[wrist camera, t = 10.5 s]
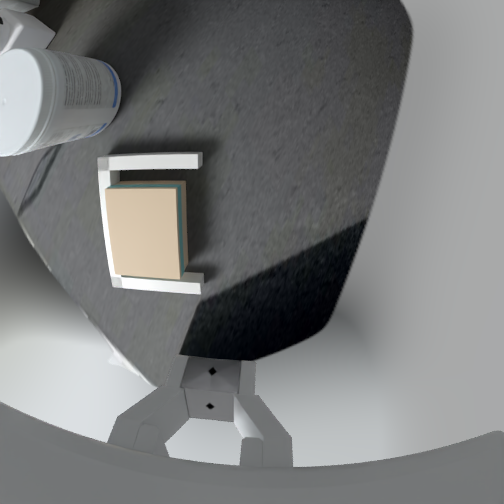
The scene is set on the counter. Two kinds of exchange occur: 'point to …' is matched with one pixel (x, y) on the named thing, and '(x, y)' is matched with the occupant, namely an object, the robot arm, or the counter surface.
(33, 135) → the supplement tub
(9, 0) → the skincare box
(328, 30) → the counter surface
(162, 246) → the carton
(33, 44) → the medicine bottle
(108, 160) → the frame
